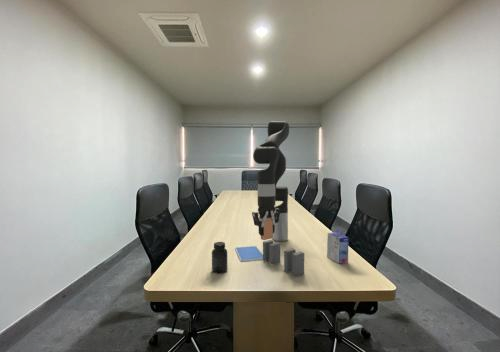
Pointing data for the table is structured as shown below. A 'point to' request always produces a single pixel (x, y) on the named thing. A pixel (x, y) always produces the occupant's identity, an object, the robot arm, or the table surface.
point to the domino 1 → (267, 229)
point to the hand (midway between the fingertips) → (266, 234)
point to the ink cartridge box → (337, 247)
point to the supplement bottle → (219, 258)
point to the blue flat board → (249, 253)
